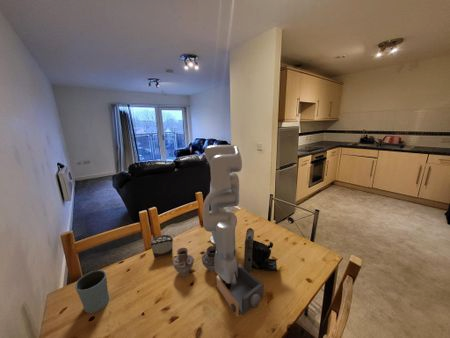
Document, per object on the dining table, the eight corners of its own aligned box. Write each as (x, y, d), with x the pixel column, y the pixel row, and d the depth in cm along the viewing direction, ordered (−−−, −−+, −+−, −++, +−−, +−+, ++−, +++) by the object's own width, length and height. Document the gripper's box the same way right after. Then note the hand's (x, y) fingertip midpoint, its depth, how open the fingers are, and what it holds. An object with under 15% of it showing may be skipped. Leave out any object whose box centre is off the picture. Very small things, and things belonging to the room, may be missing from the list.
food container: (174, 247, 112) (172, 232, 110) (175, 254, 106) (173, 238, 104) (152, 252, 108) (149, 236, 106) (151, 259, 103) (149, 243, 100)
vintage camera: (276, 280, 88) (280, 242, 83) (243, 274, 91) (244, 237, 86) (275, 265, 97) (278, 230, 93) (245, 260, 100) (246, 226, 96)
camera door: (214, 287, 83) (214, 277, 82) (218, 285, 84) (218, 275, 83) (234, 317, 70) (234, 306, 69) (238, 315, 71) (238, 304, 69)
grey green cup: (106, 311, 75) (101, 286, 72) (76, 319, 72) (69, 293, 69) (113, 290, 84) (108, 267, 81) (87, 296, 82) (81, 272, 79)
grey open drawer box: (216, 288, 84) (216, 274, 82) (237, 273, 92) (237, 260, 90) (245, 319, 70) (245, 303, 69) (267, 299, 78) (267, 285, 76)
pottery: (175, 265, 98) (172, 245, 95) (223, 258, 102) (222, 239, 99) (172, 283, 87) (170, 260, 85) (226, 275, 91) (226, 253, 88)
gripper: (207, 246, 79) (209, 282, 84) (231, 266, 68) (232, 306, 73) (221, 238, 84) (222, 273, 89) (246, 256, 73) (245, 294, 78)
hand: (226, 288), depth 81 cm, fingers closed
